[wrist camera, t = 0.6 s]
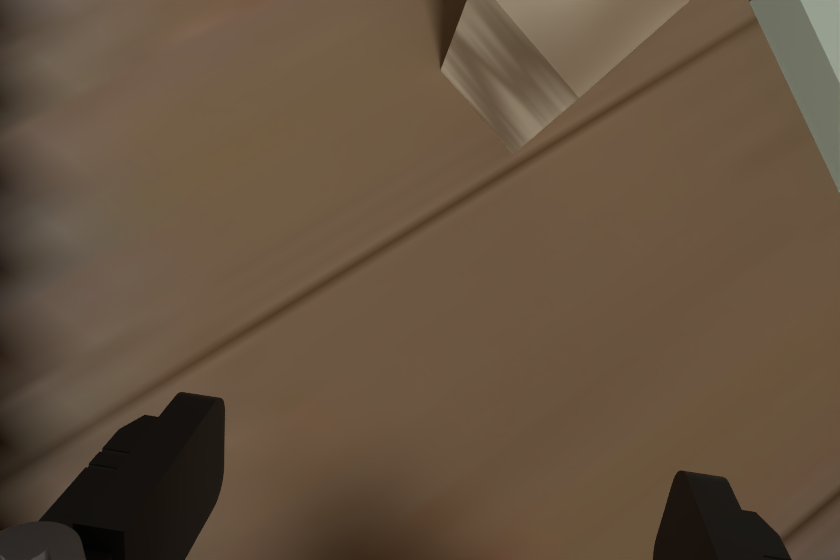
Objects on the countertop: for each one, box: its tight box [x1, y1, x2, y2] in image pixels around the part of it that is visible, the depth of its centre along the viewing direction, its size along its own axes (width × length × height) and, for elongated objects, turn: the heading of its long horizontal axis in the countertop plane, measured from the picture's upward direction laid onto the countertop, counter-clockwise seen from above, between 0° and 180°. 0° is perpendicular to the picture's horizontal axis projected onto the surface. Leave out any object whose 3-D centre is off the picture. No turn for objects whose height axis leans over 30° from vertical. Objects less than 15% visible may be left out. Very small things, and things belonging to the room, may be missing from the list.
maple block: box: [441, 0, 690, 154], centre depth 28 cm, size 5×5×10 cm
